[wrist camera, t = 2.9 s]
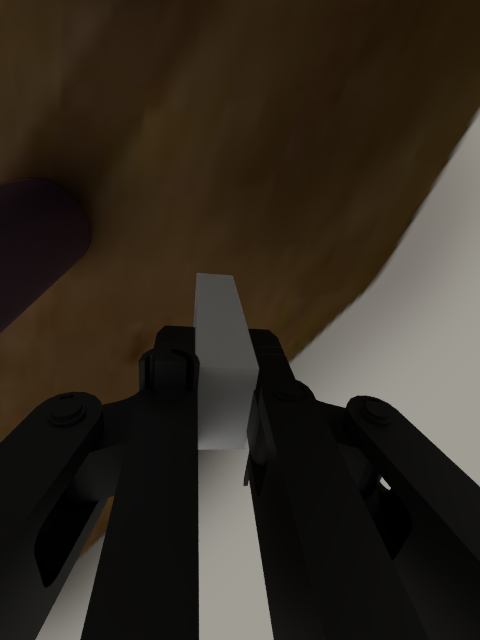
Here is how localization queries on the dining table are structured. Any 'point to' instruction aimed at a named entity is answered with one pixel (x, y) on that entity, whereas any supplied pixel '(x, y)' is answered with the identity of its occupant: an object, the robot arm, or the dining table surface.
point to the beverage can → (36, 241)
